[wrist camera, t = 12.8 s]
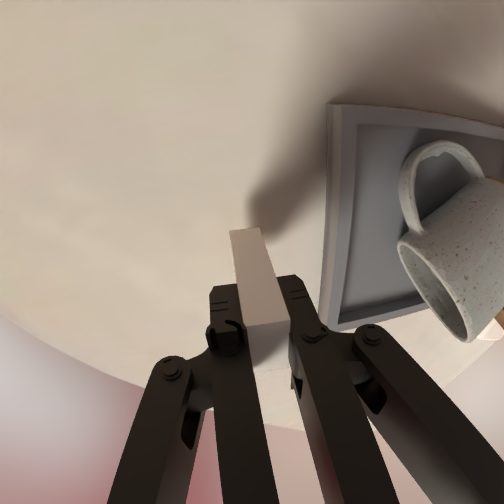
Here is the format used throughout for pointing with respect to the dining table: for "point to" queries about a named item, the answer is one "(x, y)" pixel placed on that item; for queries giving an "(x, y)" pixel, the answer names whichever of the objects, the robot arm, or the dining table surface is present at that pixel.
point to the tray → (386, 203)
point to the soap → (491, 331)
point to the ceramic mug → (456, 245)
